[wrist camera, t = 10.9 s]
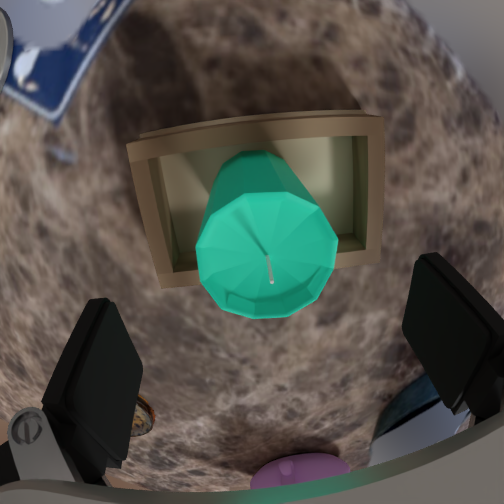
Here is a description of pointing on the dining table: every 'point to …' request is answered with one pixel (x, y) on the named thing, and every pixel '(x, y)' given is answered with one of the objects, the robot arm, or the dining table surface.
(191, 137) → the tray
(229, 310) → the candle
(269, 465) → the teapot
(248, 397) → the dining table surface
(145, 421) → the plate of food
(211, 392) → the dining table surface
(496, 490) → the robot arm
